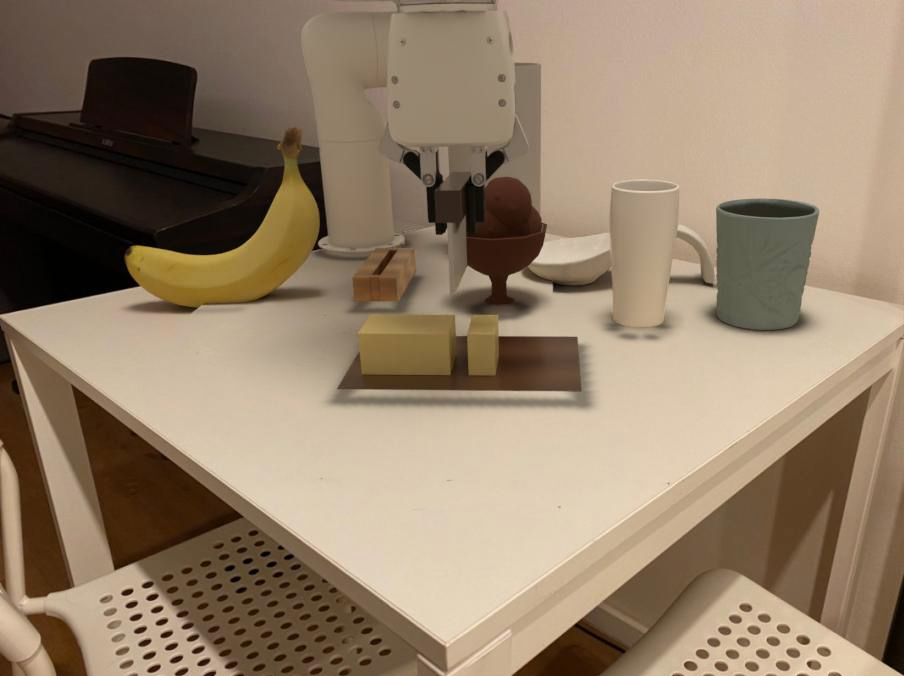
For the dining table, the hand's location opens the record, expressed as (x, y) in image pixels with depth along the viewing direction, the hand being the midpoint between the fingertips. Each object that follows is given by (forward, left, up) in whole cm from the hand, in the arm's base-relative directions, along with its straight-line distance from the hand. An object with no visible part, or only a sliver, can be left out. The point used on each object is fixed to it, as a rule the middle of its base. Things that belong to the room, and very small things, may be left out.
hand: (457, 229), depth 68 cm
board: (-1, 0, -14) cm, 14 cm away
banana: (-21, -30, -14) cm, 39 cm away
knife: (0, 0, -4) cm, 4 cm away
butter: (0, -5, -13) cm, 13 cm away
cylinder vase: (-44, 0, -14) cm, 46 cm away
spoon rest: (-31, +16, -14) cm, 38 cm away
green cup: (-17, +30, -14) cm, 37 cm away
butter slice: (0, +2, -13) cm, 13 cm away
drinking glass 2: (-13, +17, -14) cm, 26 cm away
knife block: (-25, -12, -14) cm, 31 cm away
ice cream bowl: (-19, +2, -14) cm, 24 cm away
